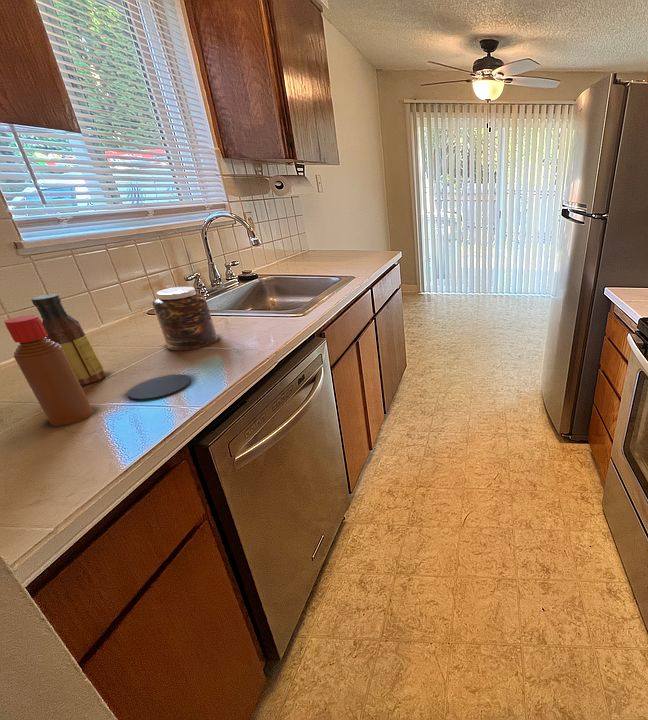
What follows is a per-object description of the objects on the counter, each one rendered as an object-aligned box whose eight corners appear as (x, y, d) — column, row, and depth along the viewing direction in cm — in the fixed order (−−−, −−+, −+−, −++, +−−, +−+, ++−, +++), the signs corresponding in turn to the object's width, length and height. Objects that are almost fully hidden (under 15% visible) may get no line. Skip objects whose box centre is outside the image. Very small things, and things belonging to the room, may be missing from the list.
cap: (7, 342, 68) (-4, 322, 66) (33, 334, 72) (23, 315, 70) (29, 342, 68) (19, 322, 66) (54, 334, 71) (44, 315, 70)
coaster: (115, 400, 82) (113, 398, 82) (157, 376, 92) (156, 374, 92) (165, 401, 82) (164, 399, 81) (202, 377, 92) (201, 375, 91)
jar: (217, 332, 119) (201, 282, 112) (218, 344, 110) (202, 291, 103) (168, 341, 113) (149, 289, 107) (166, 354, 104) (145, 298, 98)
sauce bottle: (102, 371, 95) (64, 290, 87) (110, 378, 92) (72, 294, 83) (65, 382, 90) (22, 297, 82) (72, 390, 87) (28, 301, 78)
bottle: (41, 426, 74) (-14, 327, 66) (73, 409, 79) (25, 315, 71) (71, 426, 74) (19, 327, 65) (101, 409, 79) (57, 316, 71)
